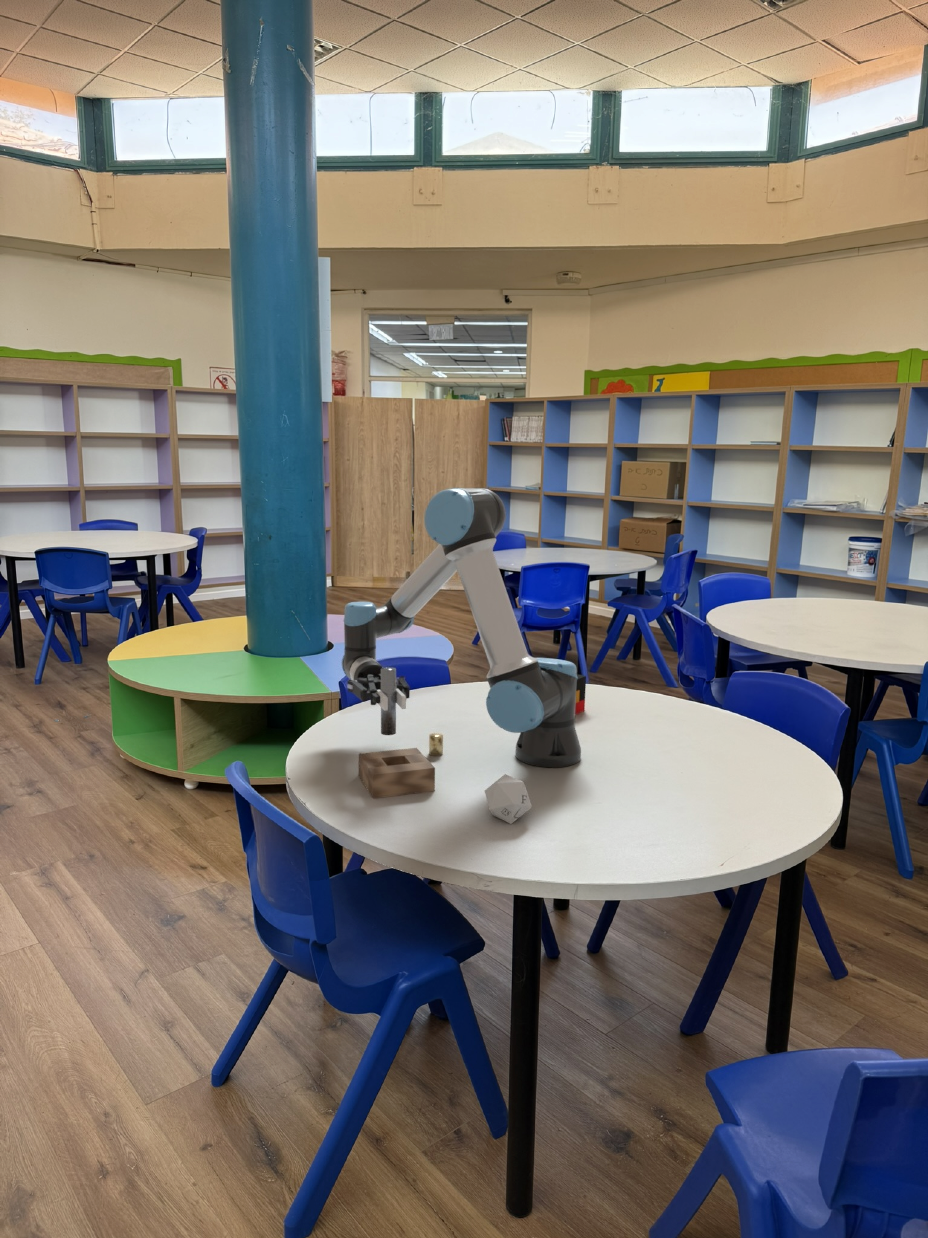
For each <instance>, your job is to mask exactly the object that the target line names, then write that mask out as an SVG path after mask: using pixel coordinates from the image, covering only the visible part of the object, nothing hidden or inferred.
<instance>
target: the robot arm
mask: <svg viewBox="0 0 928 1238" xmlns="http://www.w3.org/2000/svg"><path fill="white" fill-rule="evenodd" d="M506 512H507V511H506V508H505V504H504V502H503V500H502V499H501V497H500V496H499V495H498V494H497V493H495V492H494V491H492V490H490V489H488V488H483V487H476V488H475V487H474V488H471V487H470V488H466V487H465V488H463V487H462V488H461V487H452V488H449V489H443V490H440V491H438V492H437V493H435V494H434V495H433V496H432V498H431V499H430V500H428V504H427V507H426V508H425V512H424V519H423V522H424V527H425V530H426V533H427V534H428V537H430V539H431V540H433V541H435V543H437V546H436V547H435V548H434V549H433V550H432V551H431V552H430V553H429V555H428V556H427V557H426V558H425V559H424V560H423V561H422V563H421V564H419V566H418V567H416V569H415V570H414V571H413V572H412V574H411V575H409V577H408V578H407V579H406V580H405V581H404V583H402V584H401V585H400V587H399V588H398V589H397V590H396V591H395V592H394V593H393V594H392V596H390V597H389V599H388V600H387V601H386V602H385V603H384V604H383V605H379V606H376V605H375V604H374V603H373V602H372V601H352V602H348V603H346V604H345V606H344V614H343V615H344V618H343V625H344V626H343V627H344V631H343V632H344V634H343V635H344V652H343V653H344V654H343V656H342V658H341V668H342V671H343V672H344V675H345V676H346V677H347V678H348V679H347V681H346V683H347V684H346V685H347V687H346V688H347V692H349V693H351V694H354V696H355V697H357V698H358V699H359V700H360V701H361V702H362V703H363V702H367V701H368V700H370V706H377V704H378V705H379V706H380V709H381V708H382V709H383V710H384V711H386V710H388V697H387V696H386V695H385V694H384V693H383V692H382V691H381V668H384V667H385V666H383V665H382V664H380V663H379V662H378V661H377V657H376V656H377V654H376V653H377V652H376V651H377V639H378V638H383V637H385V636H386V637H387V636H390V635H394V634H400V633H403V632H405V631H407V630H410V628H411V627H412V626H413V624H414V620H415V616H416V614H418V613H419V612H420V611H421V610H422V609H423V608H424V606H425V605H427V603H428V602H430V600H431V599H432V598H433V597H434V596H435V595H436V594H437V593H438V592H439V591H440V590H441V589H442V587H443V586H445V584H446V583H447V582H448V581H449V580H450V579H451V578H452V577H453V576H455V574H456V573H457V572H458V575H459V578H460V581H461V584H462V585H461V586H462V587H463V590H464V593H465V596H466V599H467V602H468V605H469V609H470V611H471V613H472V617H473V619H474V623H475V624H476V628H477V631H478V634H479V637H480V640H481V643H482V646H483V650H484V652H485V655H486V658H487V661H488V665H489V667H490V668H489V670H488V673H487V674H486V680H487V682H488V686H489V690H488V692H487V697H486V699H485V705H486V710H487V713H488V715H489V717H490V719H491V720H492V721H493V722H494V724H495V725H497V727H498V728H501V729H503V730H505V731H507V732H508V733H511V734H513V733H514V734H518V733H519V735H518V736H519V737H517V740H516V741H517V742H516V743H515V758H516V759H518V760H519V761H520V762H521V763H522V762H523V763H525V764H527V765H531V766H535V767H541V768H563V767H569V766H573V765H575V764H577V763H579V762H580V761H581V759H582V755H581V754H582V747H581V744H580V741H579V738H578V737H579V736H578V733H577V730H576V725H575V718H576V715H575V704H576V685H577V672H578V670H577V665H576V664H575V663H574V662H572V661H569V660H564V659H557V658H549V657H548V658H547V657H533V656H532V655H530V654H529V652H528V650H527V647H526V644H525V641H524V639H523V634H522V631H521V630H520V627H519V623H518V621H517V618H516V615H515V612H514V609H513V606H512V604H511V600H510V597H509V594H508V592H507V589H506V586H505V582H504V580H503V577H502V574H501V571H500V568H499V564H498V563H497V560H496V556H495V553H494V551H493V550H494V546H495V544H496V542H497V536H498V535H499V534H500V532H502V530H503V527H504V525H505V522H506V515H507V514H506ZM405 679H406V677H405V676H404V675H400V676H399V677H396V705H398V706H399V707H400V708H401V710H406V709H407V699H410V696H411V695H410V691H411V690H410V687H411V686H410V685H409V684H408V683H407V681H406V680H405Z"/></svg>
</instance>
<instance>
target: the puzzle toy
mask: <svg viewBox="0 0 928 1238" xmlns="http://www.w3.org/2000/svg"><path fill="white" fill-rule="evenodd" d="M586 681H587V675H583V674H577V685H576V704H575V716H576V715H578V714H581V713H582V712H584V711H585V709H586V708H585V707H586V687H587V686H586V684H587V682H586Z"/></svg>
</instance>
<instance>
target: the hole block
mask: <svg viewBox="0 0 928 1238" xmlns="http://www.w3.org/2000/svg"><path fill="white" fill-rule="evenodd" d="M357 755H358V757H357V758H358V767H357V768H358V777H359V779H360V781H361V782H362V783H363V785H364V787H365V788H366V790H367V791H368V793H369V794H370V796H371V797H372V799H379V798H387V797H396V796H403V795H404V796H405V795H413V794H421V793H429V792H435V786H436V785H435V784H436V767H435V766H434V765H433V764H432V762H430V761H429V759H428V758H426V756H425V755H424V754H423V753H422V752H421V750H419V749H418V748H417V747H411V748H410V747H409V748H403V749H402V748H401V749H391V750H382V751H381V750H380V751H373V752H372V751H371V752H363V753H362V752H360V753H358V754H357Z"/></svg>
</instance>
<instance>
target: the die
mask: <svg viewBox="0 0 928 1238" xmlns="http://www.w3.org/2000/svg"><path fill="white" fill-rule="evenodd" d="M484 794H485V798H486V801H487V802H486V803H487V805H488V809H489V811H490V813H491V815H492V816H493V817H496V818H498V819H499V820H501V821H504V822H506V823H508V824H510V825H512V824H513V823H514V822H515V821H517V820H518V819H519V818H520V817H522V816H523V815H524V814H525V813H527V812H528V811H529V810H530V809H531V808H533V807H532V803H531V800H530V797H529V793H528V791H527V787H526V785H525V782H524V781H523V780H520V779H518V778H516V777H513V776H510V775H508V774H506V773H504V774H502V776H501V777H500V778H498V779H497V780H496V781H494V783H492V784H491V785H489V786H488V787H487V788H485V790H484Z"/></svg>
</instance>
